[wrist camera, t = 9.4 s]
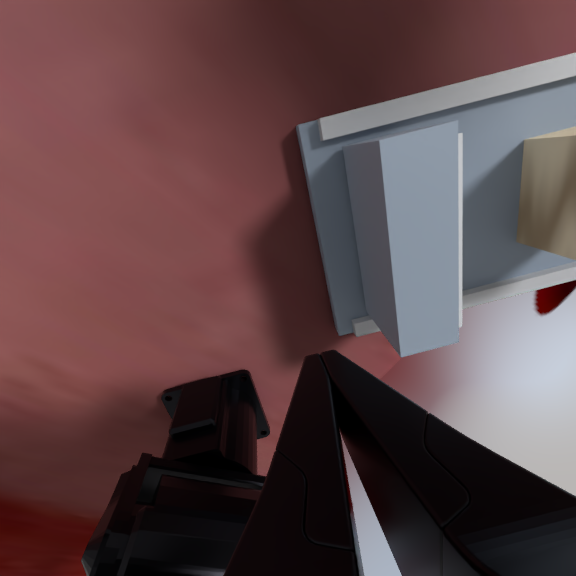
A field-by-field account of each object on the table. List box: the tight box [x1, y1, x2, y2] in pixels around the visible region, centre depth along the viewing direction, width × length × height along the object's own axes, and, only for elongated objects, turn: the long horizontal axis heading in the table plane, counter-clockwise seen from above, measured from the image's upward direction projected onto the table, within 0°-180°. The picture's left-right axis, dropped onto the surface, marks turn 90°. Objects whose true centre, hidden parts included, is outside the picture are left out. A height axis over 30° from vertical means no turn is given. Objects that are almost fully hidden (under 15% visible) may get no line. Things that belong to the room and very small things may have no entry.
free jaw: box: [343, 120, 463, 357], centre depth 15 cm, size 10×4×5 cm, turn 14°
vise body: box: [296, 53, 576, 337], centre depth 16 cm, size 13×26×6 cm, turn 104°
